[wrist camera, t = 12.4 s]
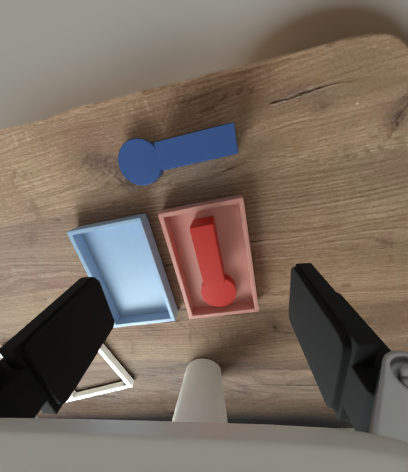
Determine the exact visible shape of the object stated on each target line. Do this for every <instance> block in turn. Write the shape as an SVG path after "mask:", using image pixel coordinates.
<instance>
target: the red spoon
mask: <svg viewBox="0 0 408 472" xmlns="http://www.w3.org/2000/svg"><path fill="white" fill-rule="evenodd" d="M189 229H190V233H191V237H192V241H193V245H194V249H195V253H196V257H197V261H198V265H199V269H200V272H201V276H202V280H203V282H202V287H201V295H202V298H203V299H204V301H205V302H206V303H208V304H210V305H212V306H215V307H223V306H227V305H229V304H230V303H232V302H233V301H234V299H235V297H236V285H235V282H234V280H233V279H232V278H231V277H230V276H229V275H227V274H225V272H224V265H223V260H222V255H221V250H220V245H219V240H218V235H217V230H216V225H215V220H214V216H210V217H204V218H199V219H194V220H193V221H192V223H191V226H190V228H189Z"/></svg>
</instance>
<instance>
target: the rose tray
mask: <svg viewBox="0 0 408 472" xmlns="http://www.w3.org/2000/svg"><path fill="white" fill-rule="evenodd" d="M158 216H159V220H160V223H161V226H162V229H163V233H164V236H165V239H166V242H167V246H168V249H169V252H170V256H171V259H172V262H173V265H174V269H175V272H176V275H177V278H178V282H179V285H180V288H181V292H182V295H183V298H184V301H185V305H186V308H187V311H188V314H189V318H190V319H193V318H203V317H212V316H221V315H230V314H239V313H248V312H257V311H259V306H258V298H257V291H256V284H255V277H254V270H253V263H252V256H251V249H250V241H249V234H248V227H247V220H246V213H245V206H244V199H243V196H242V195H241V194H239V195H234V196H229V197H224V198H219V199H214V200H209V201H204V202H199V203H194V204H189V205H184V206H179V207H174V208H169V209H164V210H162V211H161V212H160V213H158ZM210 216H214V220H215V225H216V230H217V235H218V240H219V245H220V250H221V255H222V260H223V265H224V272H225V274H227V275H229V276H230V277H231V278H232V279H233V280H234V282H235V285H236V297H235V299H234V301H233V302H232V303H230V304H229V305H227V306H223V307H215V306H212V305H210V304H208V303H206V302H205V301H204V299H203V298H202V295H201V287H202V282H203V280H202V276H201V272H200V269H199V265H198V261H197V257H196V253H195V249H194V245H193V241H192V237H191V233H190V229H189V228H190V226H191V223H192V221H193V220H194V219H199V218H204V217H210Z"/></svg>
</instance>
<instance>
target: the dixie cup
mask: <svg viewBox="0 0 408 472" xmlns="http://www.w3.org/2000/svg"><path fill="white" fill-rule="evenodd" d="M172 422H201V423H227V415H226V407H225V399H224V391H223V383H222V376H221V369H220V367H219V365H218V364H217V363H215V362H214V361H212V360H209V359H195V360H193V361H191V362H190V363H189V364H188V366H187V369H186V372H185V376H184V380H183V383H182V387H181V390H180V394H179V398H178V401H177V405H176V408H175V412H174V416H173V419H172Z"/></svg>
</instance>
